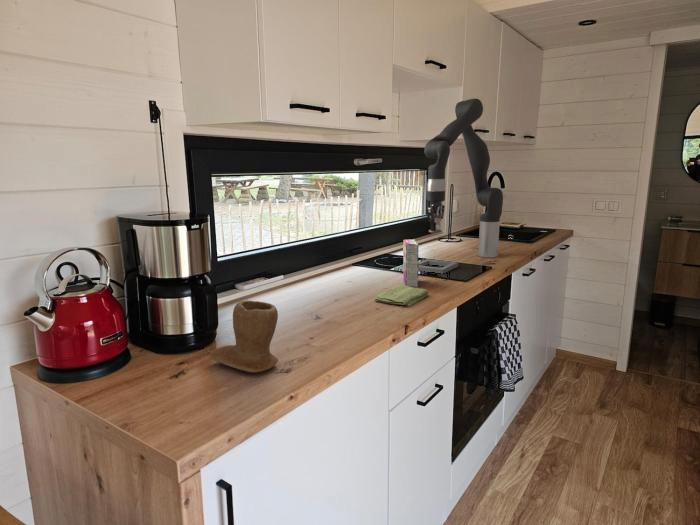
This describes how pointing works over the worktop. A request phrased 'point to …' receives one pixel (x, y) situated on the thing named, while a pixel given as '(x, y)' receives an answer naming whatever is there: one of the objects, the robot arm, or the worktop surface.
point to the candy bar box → (410, 262)
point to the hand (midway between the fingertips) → (435, 229)
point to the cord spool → (437, 225)
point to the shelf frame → (446, 268)
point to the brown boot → (250, 338)
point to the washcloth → (402, 295)
